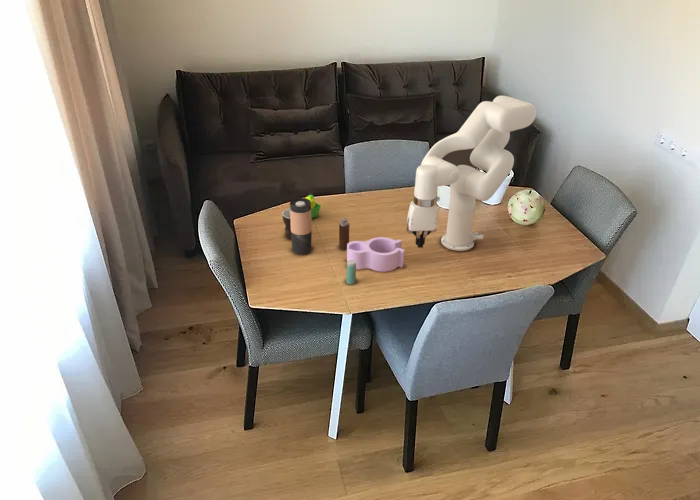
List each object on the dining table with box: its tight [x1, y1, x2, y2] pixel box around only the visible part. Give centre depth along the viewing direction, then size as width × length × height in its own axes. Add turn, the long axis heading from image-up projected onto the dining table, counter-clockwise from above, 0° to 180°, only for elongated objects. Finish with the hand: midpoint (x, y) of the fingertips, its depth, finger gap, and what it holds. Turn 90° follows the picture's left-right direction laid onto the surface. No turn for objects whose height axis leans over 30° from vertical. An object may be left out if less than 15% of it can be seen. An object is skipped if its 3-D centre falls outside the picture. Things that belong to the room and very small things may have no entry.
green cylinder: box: [345, 260, 357, 285], centre depth 201 cm, size 3×3×8 cm
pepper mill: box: [338, 217, 350, 251], centre depth 220 cm, size 4×4×13 cm
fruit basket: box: [288, 194, 322, 220], centre depth 239 cm, size 11×9×11 cm
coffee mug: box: [281, 208, 292, 241], centre depth 228 cm, size 12×9×10 cm
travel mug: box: [289, 197, 313, 256], centre depth 216 cm, size 8×8×20 cm
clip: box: [346, 236, 406, 273], centre depth 212 cm, size 20×12×7 cm, turn 96°
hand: (419, 245), depth 213 cm, fingers closed
